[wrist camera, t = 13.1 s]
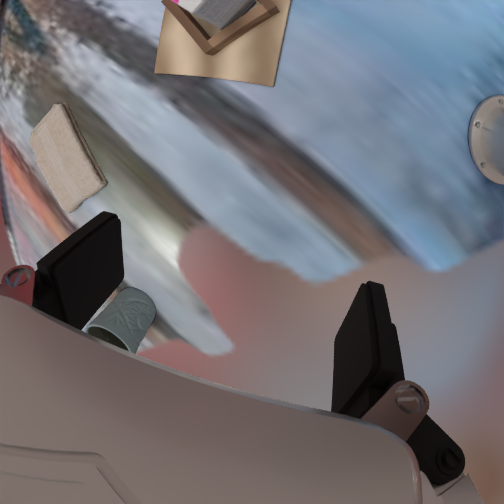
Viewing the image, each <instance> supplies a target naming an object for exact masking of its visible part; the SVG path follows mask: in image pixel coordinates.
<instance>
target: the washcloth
mask: <svg viewBox="0 0 504 504" xmlns="http://www.w3.org/2000/svg"><path fill="white" fill-rule="evenodd" d="M30 144H31V146H32V148H33V151H34V153H35V156H36V160H37V161H36V164H37V166H38V167H39V168H40V170H41V172H42V173H43V175H44V177H45V179H46V181H47V183H48V185H49V187H50V189H51V190H52V192H53V193H54V195H55V197H56V199H57V201H58V202H59V204H60V206H61V207H62V208H63V209H64V210H65V211H66V212H67V213H71V212H73V211H74V210H75V209H77V208H78V206H79V205H80V204H81V203H82V202H83V201H84V200H85V199H87V198H90V197H91V196H93V195H94V194H96V193H97V192H98V191H100V190H101V189H102V188H103V187H104V186H105V185H106V183H107V181H106V179H105V178H104V176H103V174H102V172H101V170H100V168H99V166H98V164H97V163H96V161H95V159H94V158H93V156H92V153H91V151H90V149H89V148H88V145H87V143H86V142H85V140H84V138H83V136H82V135H81V133H80V130H79V128H78V127H77V125H76V122H75V120H74V117H73V115H72V114H71V111H70V109H69V107H68V104H67V102H66V101H65V102H63V103H60V104H54V105H53V107H52V109H51V110H50V111H49V113H48V114H47V115H46V116H45V117H44V118H43V119H42V120H41V121H40V122H39V124H38V125H37V126H36V127H35V128H34V130H33V131H32V132H31V138H30Z"/></svg>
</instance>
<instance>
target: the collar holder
mask: <svg viewBox="0 0 504 504" xmlns="http://www.w3.org/2000/svg"><path fill="white" fill-rule="evenodd" d="M255 1H256V4H255V5H254V6H253V7H252V8H251V9H250V10H249V11H248V12H247V13H246V14H245V15H243V16H242V17H240V18H239V19H237V20H236V21H234V22H233V23H231V24H230V25H228V26H227V27H225V28H224V29H223V30H221V29H219V28H217V27H216V26H214V25H212V24H211V23H209V22H207V21H205V20H204V19H202V18H200V17H198V16H196V15H194V14H193V13H190V12H189V11H187V10H186V9H184V8H182V7H181V6H179V5H177V4H175V3H174V2H172V1H170V0H163V1H161V2H162V3H163V4H164V5H165V6H166V7H165V12H164V17H163V22H162V28H161V33H160V39H159V45H158V51H157V58H156V65H155V72H154V73H162V74H179V75H192V76H202V77H212V78H220V79H228V80H235V81H242V82H248V83H254V84H260V85H266V86H271V87H274V84H275V79H276V74H277V69H278V64H279V59H280V54H281V49H282V44H283V39H284V34H285V29H286V24H287V19H288V15H289V10H290V5H291V0H255Z"/></svg>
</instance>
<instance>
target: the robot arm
mask: <svg viewBox="0 0 504 504" xmlns="http://www.w3.org/2000/svg"><path fill="white" fill-rule="evenodd" d="M475 123H476V125H475ZM469 148H470V152H471V155H472V158H473V160H474V163H475V165H476V166H477V168H478V169H479V171H480V172H481V173H482V174H483V175H484V176H485V177H487V178H488V179H489V180H491V181H493V182H495V183H497V184H501V185H504V96H501V95H496V96H491V97H489V98H486V99H485V100H484V101H482V102H481V103H480V104H479V105H478V107H477V108H476V109H475V111H474V113H473V115H472V118H471V121H470V126H469ZM37 267H38V270H36V271H35V270H34V269H33V268H32V267H31V266H28V265H19V266H15V267H13V268H11V269H9V270H8V271H7V272H6V273H5V274H4V275H3V277H2V281H1V284H0V504H484V503H483V501H482V499H481V497H480V495H479V493H478V491H477V489H476V487H475V485H474V483H473V482H472V480H471V478H470V476H469V474H467V475H464V473H463V470H464V467H465V457H464V454H463V452H462V450H461V448H460V447H459V446H458V445H457V444H456V443H455V442H454V441H453V440H452V439H451V438H450V437H449V436H448V435H447V434H446V433H445V432H444V431H443V430H442V429H441V428H440V427H439V426H438V425H437V424H436V423H435V422H434V421H433V420H432V419H431V418H430V417H429V416H428V415H427V414H426V413H427V412H428V409H429V399H428V396H427V394H426V392H425V391H424V390H423V388H422V387H421V386H419V385H418V384H416V383H415V382H412V381H408V380H405V377H404V370H403V364H402V358H401V352H400V346H399V341H398V335H397V330H396V327H395V325H394V324H393V323H391V318H390V312H389V308H388V303H387V298H386V293H385V289H384V286H383V285H382V284H379V283H375V282H372V281H368V282H367V283H366V284H364V283H362V284H361V286H360V288H359V290H358V292H357V294H356V296H355V298H354V300H353V303H352V305H351V307H350V309H349V311H348V313H347V315H346V317H345V319H344V321H343V323H342V325H341V327H340V329H339V331H338V333H337V335H336V338H335V342H334V371H333V391H332V408H331V412H330V411H325V410H320V409H316V408H311V407H307V406H302V405H298V404H293V403H289V402H285V401H281V400H277V399H273V398H269V397H265V396H261V395H257V394H253V393H249V392H246V391H243V390H239V389H235V388H232V387H229V386H225V385H221V384H219V383H215V382H212V381H209V380H206V379H203V378H200V377H197V376H194V375H190V374H188V373H185V372H182V371H179V370H175V369H173V368H170V367H168V366H165V365H162V364H159V363H157V362H154V361H151V360H149V359H146V358H143V357H141V356H139V355H136V354H134V353H131V352H129V351H126V350H124V349H121V348H119V347H117V346H114V345H112V344H110V343H107V342H105V341H103V340H101V339H98V338H96V337H94V336H92V335H89V334H87V333H85V332H83V331H81V330H82V328H83V327H84V326H85V325H86V324H87V322H88V321H89V320H90V319H91V317H92V316H93V315H94V314H95V313H96V311H97V310H98V309H99V308H100V307H101V305H102V304H103V303H104V302H105V301H106V300H107V298H108V297H109V296H110V295H111V294H112V292H113V291H114V290H115V289H116V288H117V287H118V286H119V284H120V283H121V282H122V280H123V278H124V265H123V252H122V237H121V221H120V219H118V216H117V215H116V214H113V213H109V212H106V211H103V212H101V213H100V214H98V215H97V216H96V217H94V218H93V219H92V220H90V221H89V222H87V223H86V224H85V225H83V226H82V227H81V228H79V229H78V230H77V231H76V232H74V233H73V234H72V235H70V236H69V237H68V238H67V239H65V240H64V241H63V242H61V243H60V244H59V245H58V246H56V247H55V248H54V249H53V250H52V251H50V252H49V253H48V254H47V255H45V256H44V257H43V258H42V259H41V260H39V261H38V262H37Z"/></svg>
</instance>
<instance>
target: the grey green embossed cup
mask: <svg viewBox="0 0 504 504" xmlns="http://www.w3.org/2000/svg"><path fill="white" fill-rule="evenodd" d="M155 315H156V307H155V305H154V303H153V301H152V300H151V298H150V297H149V296H148V295H147V294H146V293H144V292H143V291H141V290H139V289H136V288H132V287H129V288H125V289H123V290H122V291H121V292H120V293H119V294H118V295H117V296H116V297H115V298H114V300H113V301H112V302H111V303H110V304H109V305H108V306H107V307H106V308H105V309H104V310H103V311H102V312H101V313H100V314H99V315H98V316H97V317H96V318H95V319H94V320H93V321H92V322H91V323H90V324H89V325H88V326H87V328H86V333H87V334H89V335H92V336H94V337H96V338H98V339H101V340H103V341H105V342H107V343H110V344H112V345H114V346H117V347H119V348H121V349H124V350H126V351H129V352H131V353H134V354H136V351H137V349H138V347H139V345H140V342H141V341H142V340H143V338H144V336H145V334H146V333H147V330H148V328H149V326H150V325H151V323H152V321H153V319H154V318H155Z"/></svg>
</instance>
